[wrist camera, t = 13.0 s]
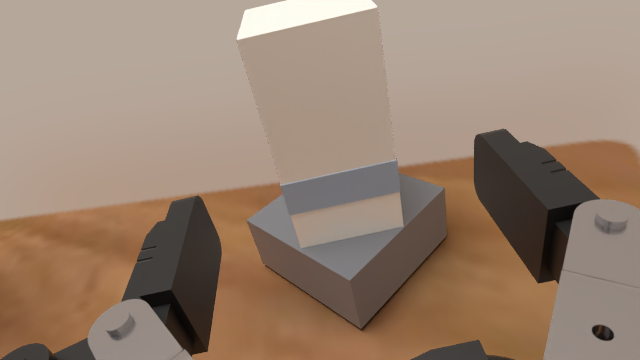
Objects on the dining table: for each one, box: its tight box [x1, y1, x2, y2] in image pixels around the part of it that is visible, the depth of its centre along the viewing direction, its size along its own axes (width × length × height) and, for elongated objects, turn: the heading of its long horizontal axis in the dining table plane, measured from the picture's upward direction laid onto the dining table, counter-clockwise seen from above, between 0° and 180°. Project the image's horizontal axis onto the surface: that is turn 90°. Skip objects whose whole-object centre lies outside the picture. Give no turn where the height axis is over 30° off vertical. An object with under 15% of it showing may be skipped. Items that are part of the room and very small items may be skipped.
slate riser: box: [247, 173, 447, 329], centre depth 28 cm, size 9×9×4 cm
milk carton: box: [237, 0, 404, 248], centre depth 23 cm, size 6×6×12 cm
